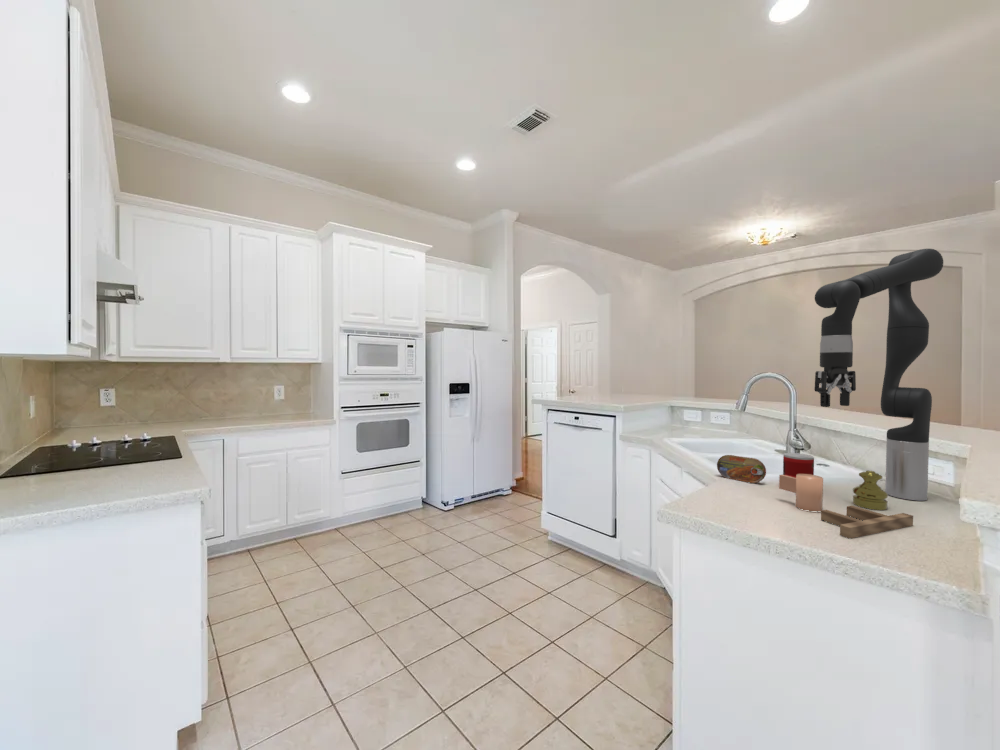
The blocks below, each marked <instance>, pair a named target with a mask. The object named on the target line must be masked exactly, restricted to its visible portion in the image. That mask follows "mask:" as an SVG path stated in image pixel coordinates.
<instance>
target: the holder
mask: <svg viewBox="0 0 1000 750" xmlns="http://www.w3.org/2000/svg"><path fill="white" fill-rule="evenodd" d="M849 516H851V517H849ZM853 517H854V518H853ZM856 518H857V519H856ZM859 519H860V520H859ZM822 520H824V521H823V522H825V521H827V522H826V523H828V522H830V523H829V524H831V523H833V524H832V525H834V524H836V525H835V526H837V525H839V526H838V527H840V528H839V536H840V535H842V536H841V537H843V536H844V537H843V538H846V537H847V538H846V539H849V538H851V539H855V537H856V538H860V537H864V536H870V535H875V534H879V533H884V532H889V531H894V530H898V529H903V528H908V527H912V526H913V527H914V515H912V514H909V513H905V512H901V513H896V514H890V515H887V514H884V513H880V512H876V511H873V510H871V509H867V508H863V507H859V506H856V505H848V506H846V515H845V514H842V513H839V512H835V511H832V510H828V509H823V510H822V511H821V512H820V521H822ZM862 520H863V521H862Z"/></svg>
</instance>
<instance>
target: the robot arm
mask: <svg viewBox="0 0 1000 750" xmlns="http://www.w3.org/2000/svg"><path fill="white" fill-rule="evenodd" d="M943 267H944V258H943V255H942V253H940V251H938V250H937V249H934V248H921V249H916V250H913V251H910V252H907V253H902V254H897V255H896V256H894V257H893V258H891V260H890V261H889V263H888V265H887V266H886V265H885V266H882V267H879V268H875V269H871V270H868V271H865V272H862V273H859V274H857V275H854V276H851V277H849V278H847V279H843V280H840V281H839V280H838V281H835V282H831V283H828V284H824V285H823V286H820V287H819V288H818V289H817V291H816V292H815V293H814V302H815V303H816V305H817V306H819V307H820V308H823V309H833V308H835V309H834V312H833V313H832V314H830V315H827V316H825V317H823V318H822V320H821V326H820V327H821V328H820V329H821V331H820V334H821V335H820V343H819V367H820V368H823V371H822V370H816V371H815V373H814V374H815V375H814V392H816V393H818V394H820V395H819V396H820V397H819V399H820V401H819V403H820V407H824V408H829V407H831V392H832V390H833V389H835V388H837V389H838V391H839V405H840V407H841V406H842V407H849V406H850V404H851V403H850V401H851V399H850V397H851V396H850V395H851V394H852V393H853V392H855V391H856V389H857V388H856V387H857V386H856V385H857V384H856V383H857V382H856V380H857V379H856V378H857V377H856V371H855V370H848V369H849V368H852V367H853V355H854V343H853V320H854V318H855V317H854V316H855V314H856V312H857V309H858V306H859V303H860V300H861V299H864V298H868V297H871V296H873V295H875V294H877V293H880V292H884V291H886V290H887V291H888V317H887V318H888V319H887V320H888V321H887V328H886V351H885V354H886V356H885V369H884V376H883V384H882V388H881V396H880V410H881V413H882V414H883V415H884V416H886V417H892V418H893V417H895V418H905V419H912V422H911V423H910V424H906V425H904V426H899V427H894V428H889V429H887V431H886V449H885V452H886V453H885V454H886V455H885V480H884V481H885V485H884V488H885V490H884V491H885V492H887V494H888V496H891V497H894V498H898V499H903V500H909V501H924V502H925V501H927V500H928V491H929V489H928V488H929V455H930V453H929V451H930V449H929V448H930V429H931V427H930V426H931V416H932V415H931V413H932V406H933V405H932V404H933V396H932V393H931V391H930V390H929V389H928V388H924V387H908V386H907V387H904V386H903V387H902V386H900V382H901V379H902V377H903V376H904V375H903V374H904V373H905V372H906V371H907V369H908V368H909V367H910V366H911V365H912V363H913V362H915V361H916V360H917V359H918V357H920V356H921V354H922V353H923V352H924V351H925V350H926V348H927V346H928V344H929V334H930V333H929V332H930V323H929V321H928V318H927V316H925V314H924V313H923V312H922V311H921V309H920V308H919V306H917V304H916V303H915V302H914V300H913V297H912V296H913V295H912V283H914V282H919V281H924V280H928V279H931V278H933V277H935V276H937V275H938V274H940V273H941V271H942V269H943Z"/></svg>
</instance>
